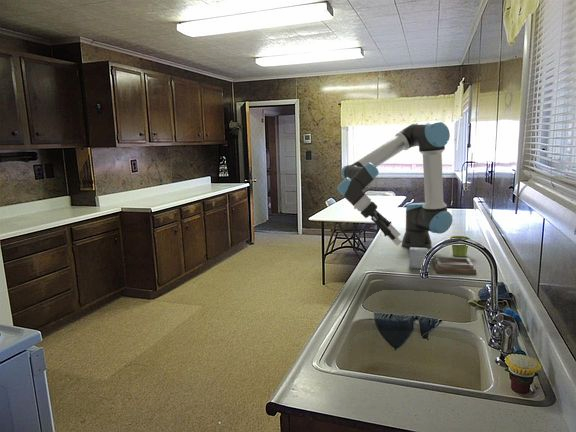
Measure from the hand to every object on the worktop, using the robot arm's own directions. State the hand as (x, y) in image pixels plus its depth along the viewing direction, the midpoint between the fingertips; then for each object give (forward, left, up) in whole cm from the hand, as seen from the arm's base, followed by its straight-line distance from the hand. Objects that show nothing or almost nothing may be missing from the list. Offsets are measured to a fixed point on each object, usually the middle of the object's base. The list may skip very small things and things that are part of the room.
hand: (399, 239), depth 190 cm
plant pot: (-21, +30, -13) cm, 39 cm away
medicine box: (0, +9, -13) cm, 16 cm away
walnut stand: (0, +24, -13) cm, 27 cm away
